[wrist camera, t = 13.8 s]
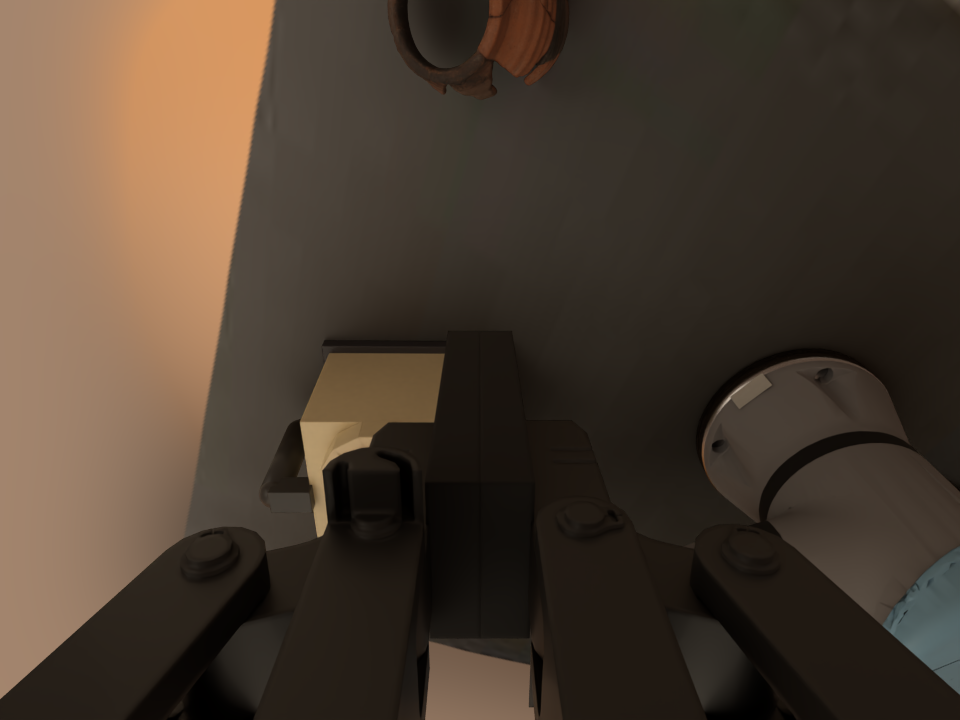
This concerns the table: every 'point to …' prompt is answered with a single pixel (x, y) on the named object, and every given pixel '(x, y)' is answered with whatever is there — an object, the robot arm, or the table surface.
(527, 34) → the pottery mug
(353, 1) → the table surface
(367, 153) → the table surface
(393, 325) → the table surface
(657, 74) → the table surface
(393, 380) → the kettle
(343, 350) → the kettle handle and spout
